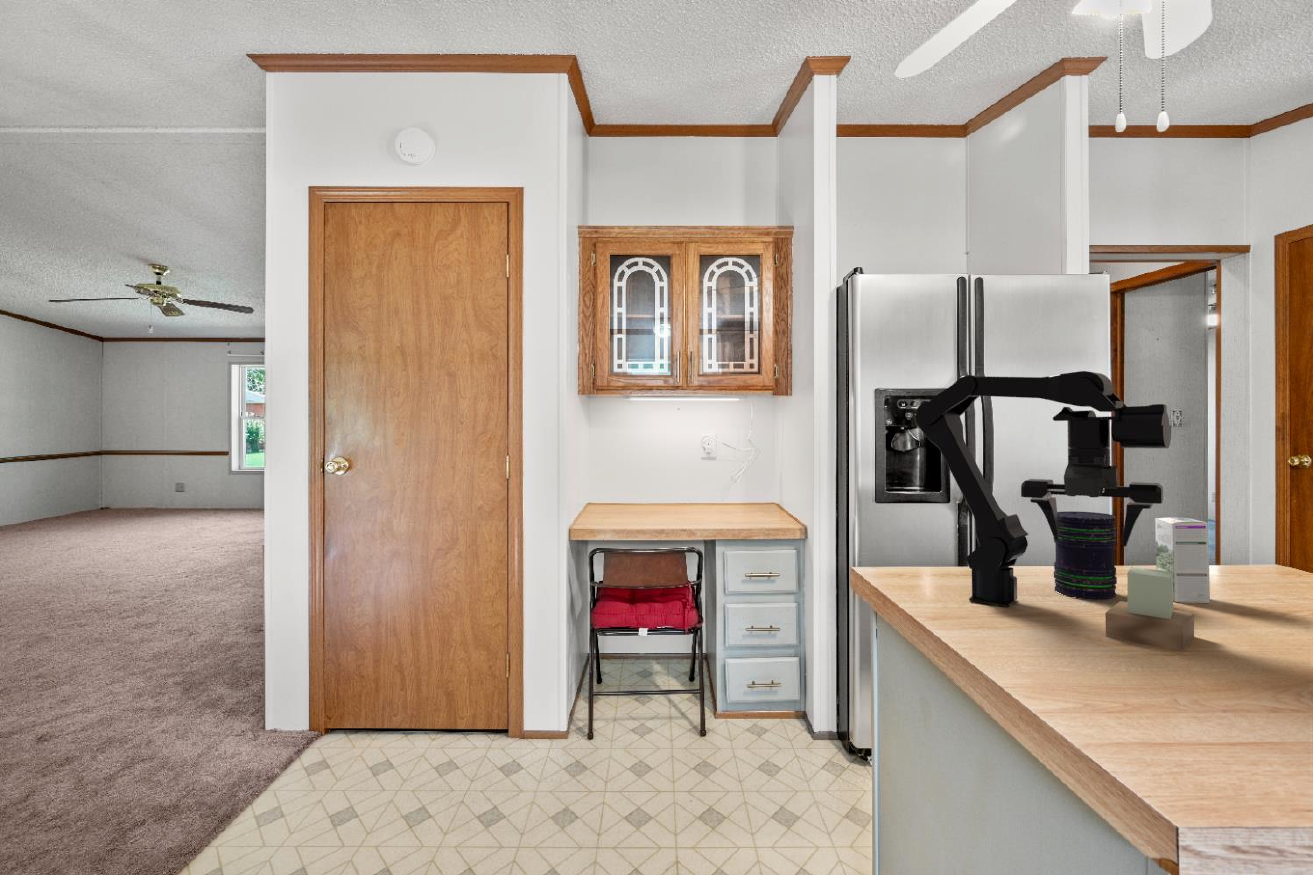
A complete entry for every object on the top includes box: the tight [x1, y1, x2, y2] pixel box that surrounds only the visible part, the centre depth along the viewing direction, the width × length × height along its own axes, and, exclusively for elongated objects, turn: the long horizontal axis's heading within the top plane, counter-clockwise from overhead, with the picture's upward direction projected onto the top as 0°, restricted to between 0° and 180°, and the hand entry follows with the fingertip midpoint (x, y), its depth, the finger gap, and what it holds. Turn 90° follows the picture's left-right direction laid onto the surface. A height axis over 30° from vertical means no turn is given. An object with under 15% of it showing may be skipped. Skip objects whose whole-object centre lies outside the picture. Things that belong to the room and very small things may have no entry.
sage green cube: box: [1127, 566, 1174, 619], centre depth 94 cm, size 5×5×6 cm
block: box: [1104, 600, 1195, 653], centre depth 93 cm, size 9×9×4 cm
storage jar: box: [1052, 510, 1118, 601], centre depth 118 cm, size 10×10×15 cm
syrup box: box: [1154, 516, 1211, 604], centre depth 113 cm, size 6×6×14 cm
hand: (1089, 543), depth 102 cm, fingers open, 9 cm apart
